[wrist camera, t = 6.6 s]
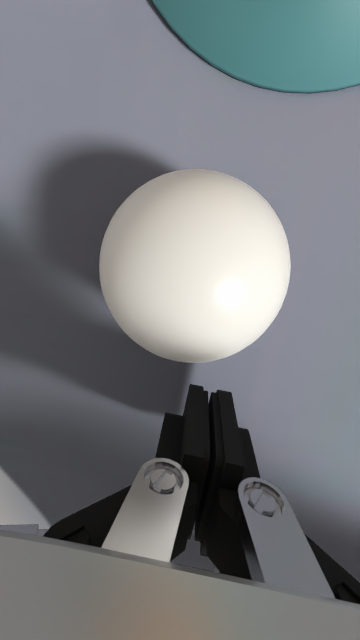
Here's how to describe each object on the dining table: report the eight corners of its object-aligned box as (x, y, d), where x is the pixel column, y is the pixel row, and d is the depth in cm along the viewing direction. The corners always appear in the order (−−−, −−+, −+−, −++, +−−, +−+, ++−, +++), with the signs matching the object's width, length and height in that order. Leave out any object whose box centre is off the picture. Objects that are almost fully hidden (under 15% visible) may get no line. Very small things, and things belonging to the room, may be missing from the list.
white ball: (358, 301, 5) (328, 244, 10) (117, 89, 5) (204, 135, 10) (180, 436, 8) (223, 342, 13) (27, 304, 8) (127, 259, 12)
